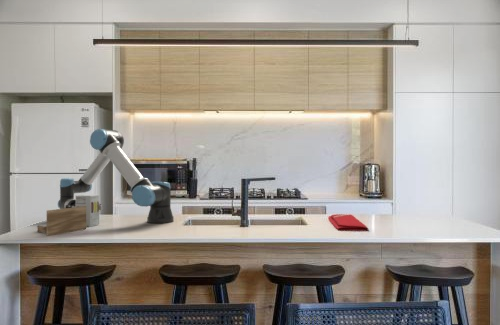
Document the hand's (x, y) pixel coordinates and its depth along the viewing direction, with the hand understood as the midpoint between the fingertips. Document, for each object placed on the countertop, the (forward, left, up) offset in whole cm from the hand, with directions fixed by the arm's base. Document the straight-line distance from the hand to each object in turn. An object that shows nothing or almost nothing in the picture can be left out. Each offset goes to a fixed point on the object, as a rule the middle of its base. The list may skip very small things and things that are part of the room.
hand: (90, 208), depth 233 cm
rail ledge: (0, +19, -9) cm, 21 cm away
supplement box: (+3, -1, -10) cm, 10 cm away
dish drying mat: (-120, -74, -10) cm, 141 cm away
